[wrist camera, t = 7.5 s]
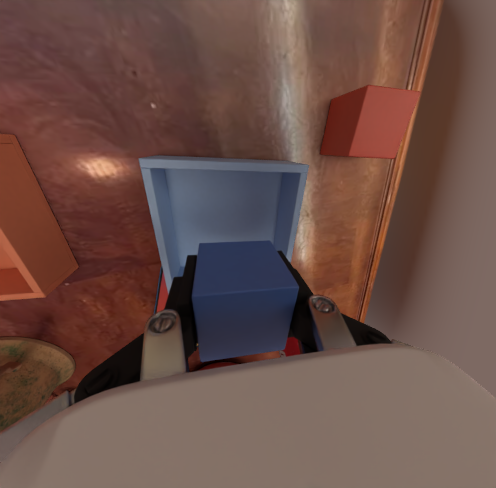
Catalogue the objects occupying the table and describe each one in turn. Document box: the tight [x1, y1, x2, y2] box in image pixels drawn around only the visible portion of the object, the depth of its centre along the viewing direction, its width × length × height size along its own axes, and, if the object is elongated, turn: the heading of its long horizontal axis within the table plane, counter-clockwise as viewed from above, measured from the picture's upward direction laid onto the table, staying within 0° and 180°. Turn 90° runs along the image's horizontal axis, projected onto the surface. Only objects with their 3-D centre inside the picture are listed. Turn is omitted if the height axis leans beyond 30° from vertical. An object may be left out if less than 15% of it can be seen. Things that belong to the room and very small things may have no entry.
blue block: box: [192, 240, 299, 362], centre depth 10 cm, size 4×4×4 cm
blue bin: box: [139, 155, 309, 295], centre depth 18 cm, size 12×12×4 cm
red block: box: [320, 85, 420, 159], centre depth 15 cm, size 4×4×4 cm
